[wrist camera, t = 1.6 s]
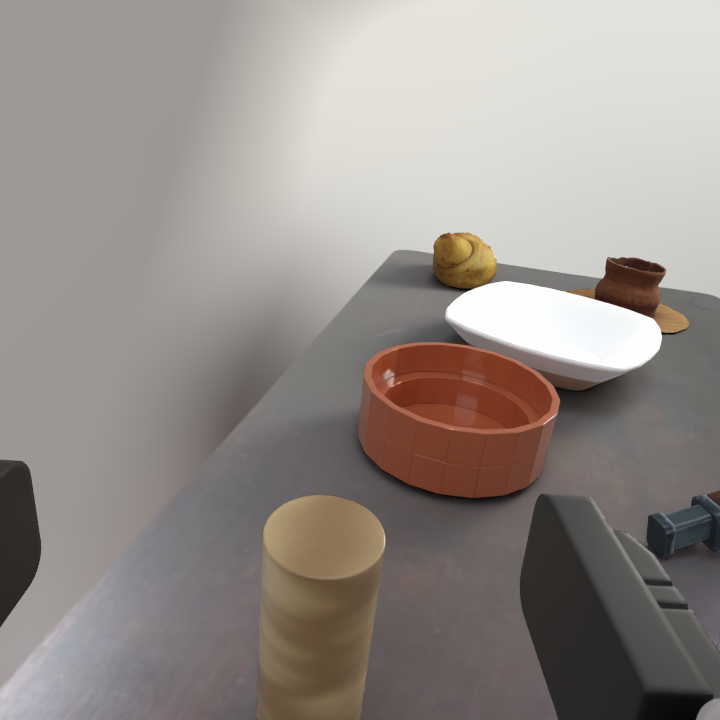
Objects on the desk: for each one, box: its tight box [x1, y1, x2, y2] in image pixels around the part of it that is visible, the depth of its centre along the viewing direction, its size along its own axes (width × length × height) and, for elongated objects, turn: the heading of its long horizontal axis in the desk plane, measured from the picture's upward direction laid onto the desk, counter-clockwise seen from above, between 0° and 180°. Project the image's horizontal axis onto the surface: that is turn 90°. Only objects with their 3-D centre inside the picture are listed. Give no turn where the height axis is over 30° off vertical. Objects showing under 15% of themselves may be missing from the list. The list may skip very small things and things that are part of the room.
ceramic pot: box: [566, 257, 690, 333], centre depth 86 cm, size 18×18×7 cm
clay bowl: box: [357, 342, 560, 498], centre depth 49 cm, size 15×15×6 cm
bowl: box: [445, 281, 662, 391], centre depth 67 cm, size 22×22×5 cm
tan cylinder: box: [257, 495, 386, 720], centre depth 24 cm, size 4×4×12 cm
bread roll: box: [433, 233, 497, 289], centre depth 92 cm, size 13×10×8 cm
